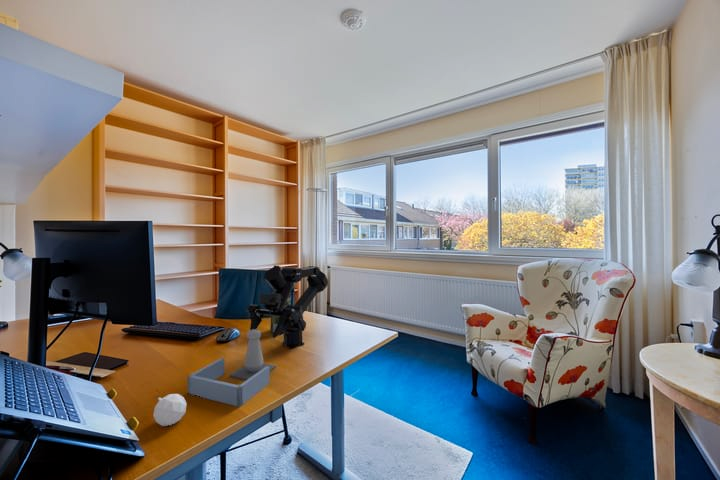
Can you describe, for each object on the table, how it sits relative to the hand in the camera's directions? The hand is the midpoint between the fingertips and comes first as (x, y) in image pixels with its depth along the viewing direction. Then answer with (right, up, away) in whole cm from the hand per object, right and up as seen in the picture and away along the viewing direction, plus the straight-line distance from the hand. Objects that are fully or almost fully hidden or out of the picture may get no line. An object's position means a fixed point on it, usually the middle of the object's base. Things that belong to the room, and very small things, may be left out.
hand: (261, 336), depth 98 cm
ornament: (-12, -12, -28) cm, 33 cm away
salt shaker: (-1, -10, -3) cm, 11 cm away
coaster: (-1, -10, -4) cm, 11 cm away
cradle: (-5, -11, -13) cm, 18 cm away
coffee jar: (-3, -9, +35) cm, 36 cm away
